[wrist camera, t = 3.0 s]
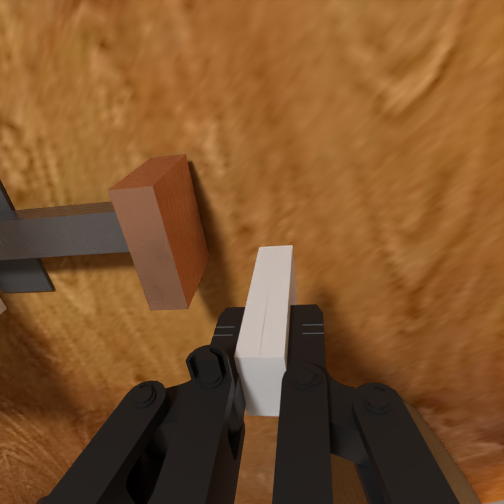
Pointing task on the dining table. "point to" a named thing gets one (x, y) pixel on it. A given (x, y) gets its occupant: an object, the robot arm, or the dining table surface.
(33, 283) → the white mini stool
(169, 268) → the long-handled tray
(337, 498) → the plant pot
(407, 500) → the robot arm
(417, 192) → the dining table surface
